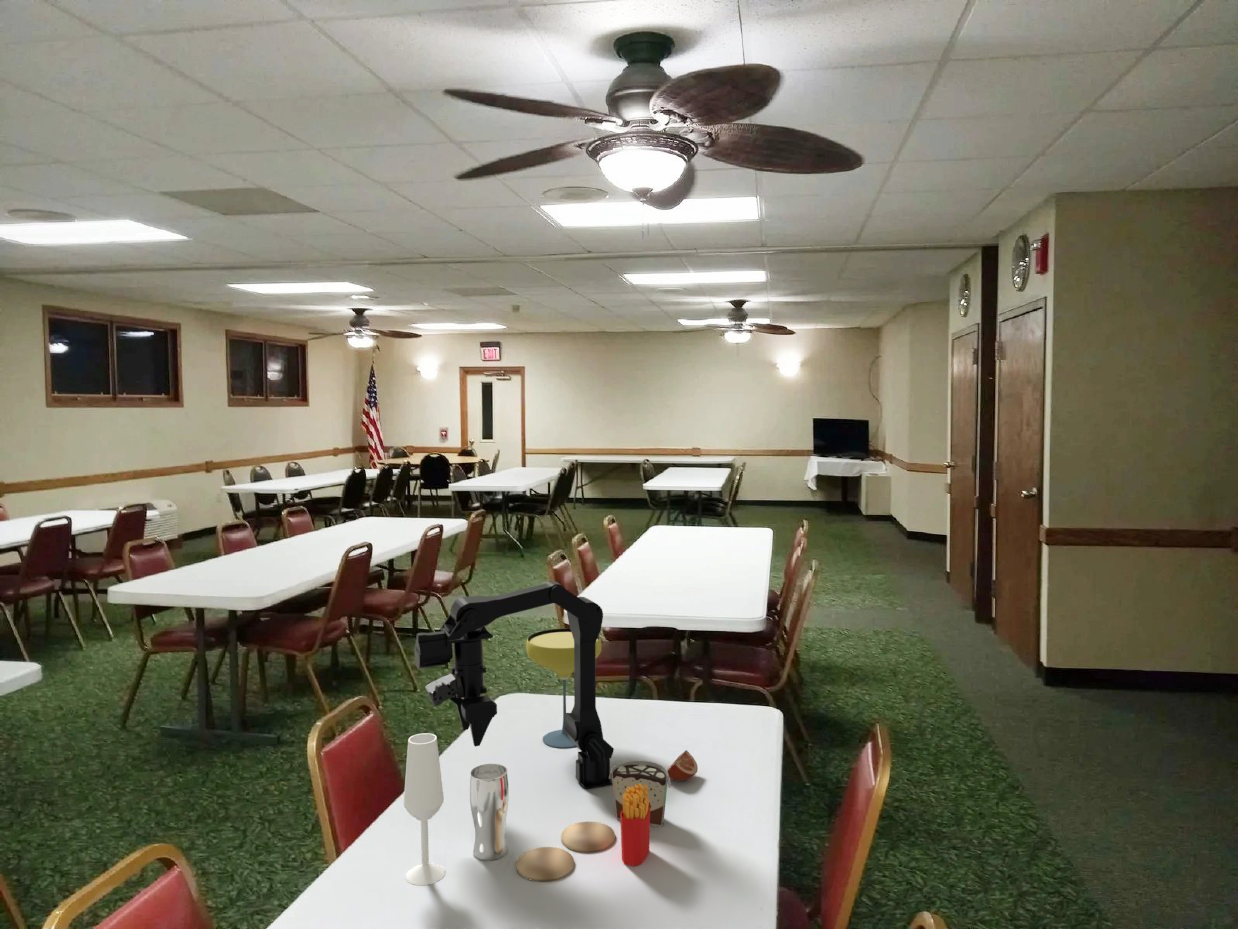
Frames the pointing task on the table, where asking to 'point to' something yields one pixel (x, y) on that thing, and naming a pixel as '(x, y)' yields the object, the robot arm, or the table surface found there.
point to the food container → (644, 775)
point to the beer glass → (489, 810)
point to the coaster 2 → (587, 836)
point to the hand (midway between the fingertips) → (471, 737)
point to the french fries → (635, 825)
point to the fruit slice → (683, 767)
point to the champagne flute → (423, 799)
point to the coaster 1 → (545, 864)
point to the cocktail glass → (556, 668)
